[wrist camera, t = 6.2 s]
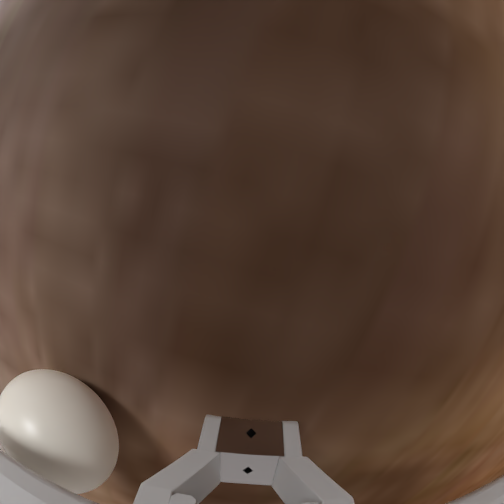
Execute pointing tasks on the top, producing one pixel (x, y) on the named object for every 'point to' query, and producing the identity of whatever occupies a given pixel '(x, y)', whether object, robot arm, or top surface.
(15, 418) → the white ping pong ball
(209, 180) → the top surface
